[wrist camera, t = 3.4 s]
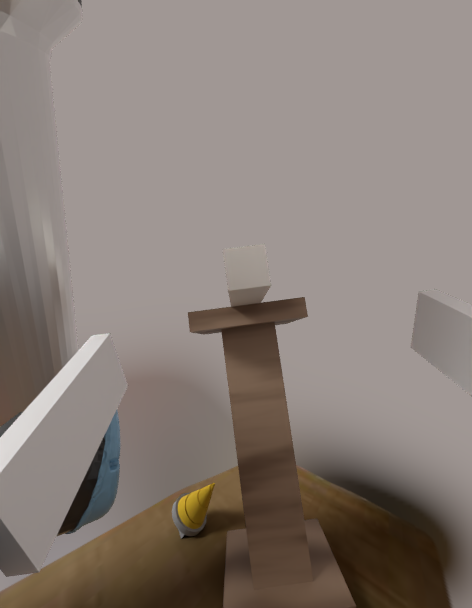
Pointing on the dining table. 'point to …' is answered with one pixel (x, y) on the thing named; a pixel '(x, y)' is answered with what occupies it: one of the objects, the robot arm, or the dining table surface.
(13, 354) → the robot arm
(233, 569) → the pedestal
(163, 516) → the dining table surface
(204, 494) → the drill bit
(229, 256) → the bar
